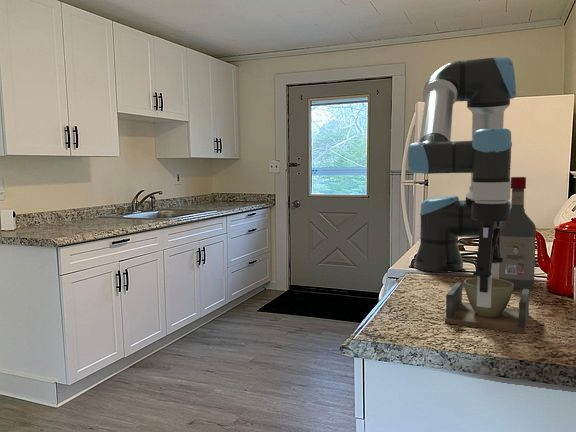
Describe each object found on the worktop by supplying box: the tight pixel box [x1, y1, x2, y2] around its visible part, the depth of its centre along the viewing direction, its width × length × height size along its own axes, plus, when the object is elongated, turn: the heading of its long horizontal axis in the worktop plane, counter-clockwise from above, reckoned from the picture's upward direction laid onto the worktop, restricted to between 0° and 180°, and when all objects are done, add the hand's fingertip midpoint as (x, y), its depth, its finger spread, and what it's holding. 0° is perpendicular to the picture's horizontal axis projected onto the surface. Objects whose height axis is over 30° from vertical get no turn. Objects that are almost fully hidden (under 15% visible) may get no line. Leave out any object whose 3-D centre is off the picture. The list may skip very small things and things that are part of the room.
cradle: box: [444, 282, 530, 335], centre depth 105 cm, size 14×15×6 cm
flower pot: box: [463, 277, 514, 317], centre depth 105 cm, size 10×10×7 cm
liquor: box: [497, 176, 537, 291], centre depth 130 cm, size 9×9×30 cm
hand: (488, 298), depth 105 cm, fingers open, 13 cm apart
